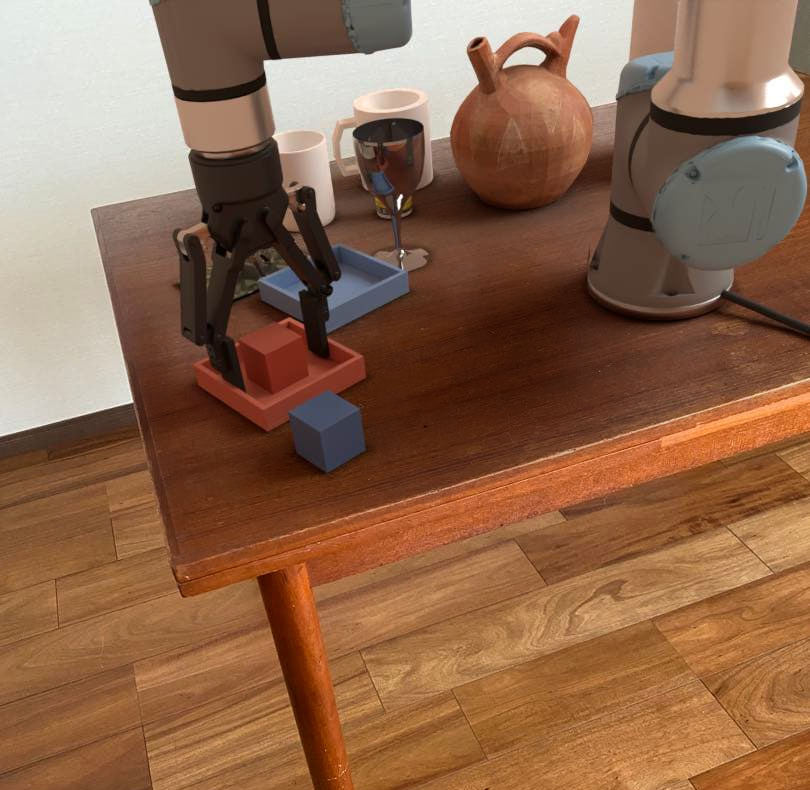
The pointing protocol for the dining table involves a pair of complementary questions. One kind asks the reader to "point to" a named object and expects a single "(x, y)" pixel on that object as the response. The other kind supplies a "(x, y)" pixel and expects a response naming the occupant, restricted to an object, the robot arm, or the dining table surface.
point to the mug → (385, 107)
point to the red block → (274, 357)
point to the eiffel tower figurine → (254, 270)
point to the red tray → (273, 408)
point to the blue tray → (340, 287)
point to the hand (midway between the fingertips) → (279, 373)
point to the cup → (307, 170)
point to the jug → (522, 123)
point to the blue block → (327, 431)
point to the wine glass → (392, 176)
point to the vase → (653, 27)
